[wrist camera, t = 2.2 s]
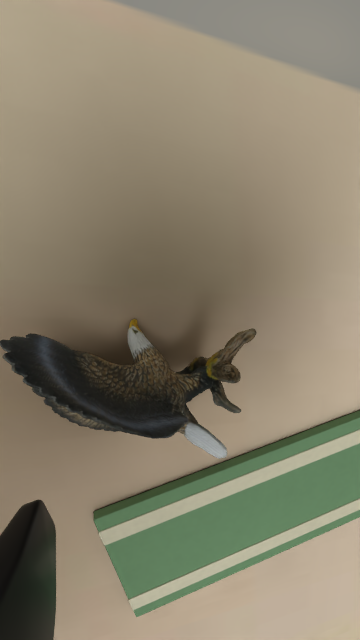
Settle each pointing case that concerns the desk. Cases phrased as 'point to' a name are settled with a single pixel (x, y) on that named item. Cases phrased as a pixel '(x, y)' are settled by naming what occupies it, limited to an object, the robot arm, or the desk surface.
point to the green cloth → (233, 514)
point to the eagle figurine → (127, 386)
